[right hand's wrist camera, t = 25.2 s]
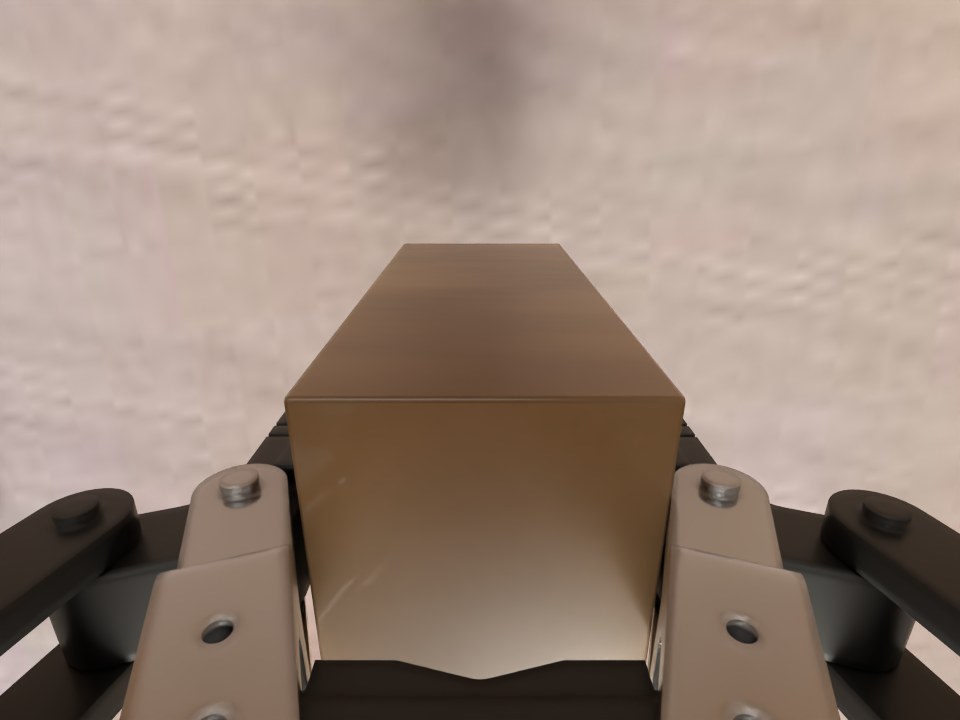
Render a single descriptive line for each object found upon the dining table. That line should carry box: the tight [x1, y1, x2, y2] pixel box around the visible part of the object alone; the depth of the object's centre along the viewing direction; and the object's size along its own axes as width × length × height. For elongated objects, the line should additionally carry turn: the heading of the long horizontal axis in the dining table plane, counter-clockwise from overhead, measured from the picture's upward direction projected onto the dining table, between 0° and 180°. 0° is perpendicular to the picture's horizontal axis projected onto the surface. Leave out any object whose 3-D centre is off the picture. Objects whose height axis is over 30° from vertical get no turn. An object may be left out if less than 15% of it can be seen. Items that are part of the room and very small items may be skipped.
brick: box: [284, 244, 685, 679], centre depth 13 cm, size 5×5×12 cm
